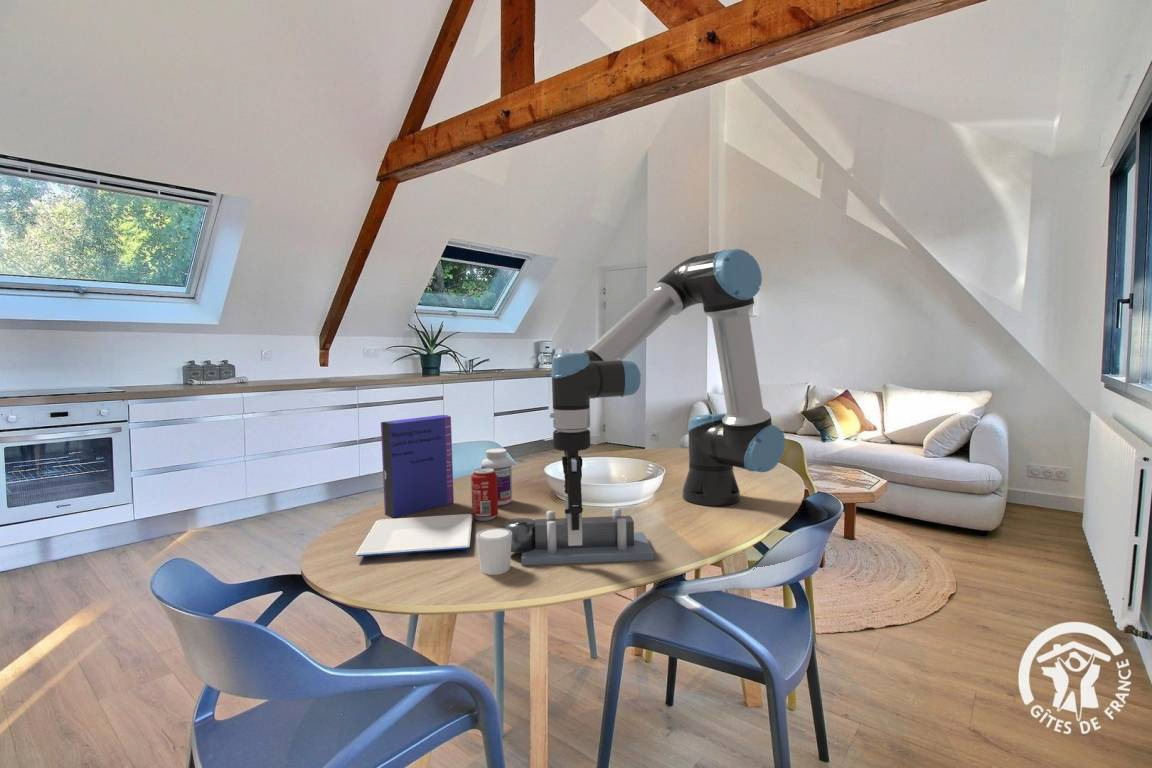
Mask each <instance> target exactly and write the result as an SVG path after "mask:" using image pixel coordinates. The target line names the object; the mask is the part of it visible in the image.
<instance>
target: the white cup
mask: <svg viewBox="0 0 1152 768" xmlns="http://www.w3.org/2000/svg"><path fill="white" fill-rule="evenodd" d="M475 537H476V538H475V539H476V545H477V546H476V547H477V554H478V562H479V569H480V572H481V574H484V575H487V574H488V575H489V576H497V575H502V574H505V573H507V572H509V571H510V569H511V557H512V556H511V555H512V552H511V543H512V532H511V531H510V530H508V529H505V527H502V528H501V527H492V528H485V529H482V530H480V531H477V533H476V535H475ZM488 575H487V576H488Z"/></svg>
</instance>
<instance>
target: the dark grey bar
mask: <svg viewBox="0 0 1152 768" xmlns="http://www.w3.org/2000/svg"><path fill="white" fill-rule="evenodd" d="M620 518H623V519H626V546H634V532H635V523H634V522H635V521H634V519H633V517H632V516H631V515H621V516H613V515H611V516H586V517H583V516H582V545H577V546H568V518H565V517H564V518H563V517H559V518H556V517H555V519H547V518H535V519H533V518H530V517H529V518H528V517H517V518H511V519H508V520H506V521H505V522H504V529H508V530H510V531H511V532H512V543H511V553H517V554H519V553H521V554H522V553H523V552H529V551H532V550H534V549H535V548H536V550H544V549H548V548H547V522H548V521H555V522H556V545H557V549H568V548H593V547H617V519H620Z"/></svg>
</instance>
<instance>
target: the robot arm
mask: <svg viewBox="0 0 1152 768" xmlns="http://www.w3.org/2000/svg"><path fill="white" fill-rule="evenodd" d="M762 278H763V277H762V271H761V268H760V265H759V263H758V261H757V259H756V258H755V257H754V256H753V255H751V254H750V253H749V252H748V251H746V250H744V249H740V248H733V249H731V248H730V249H722V250H720V251H714V252H711V253H705V254H701V255H695V256H692V257H689V258H687V259H685V260H683V261H682V262H680V263H679V264H678V265H676V266H675V267H673V268H672V269H671V270H670V271H668V272H667V273H666V274H664V276H663V277H661V278H660V279H659V280H658V281H657V282H656V283H655V284H653V286H652V288H651V293H649V294H648V295H647V296H646V297H645V298H643V300H642V301H640V302H639V303H638V304H637V305H636V306H635V307H633V308H632V309H631V310H630V311H629V312H628V313H626V315H624V316H622V317H621V319H620V320H619V321H618V322H617V323H615V324H614V325H613V326H612V327H611V328H610V329H609V330H608V331H606V332H605V333H604V334H603V335H602V336H601V337H600V338H598V339H597V340H596V341H595V342H594V343H593V344H592V345H590V346H589V347H588V348H587V349H586V350H584V351H583V352H561V353H556V354H554V355H553V357H552V359H551V374H550V378H551V390H552V391H551V392H552V395H551V396H552V413H549V418H551V419H552V422H553V425H552V427H553V428H554V430H553V432H552V437H553V438H552V441H553V443H552V447H553V448H554V450H557V451H561V452H564V456H562V457H561V463H562V470H563V471H562V472H563V474H564V485H563V486H564V514H565V517H564V518H568V546H577V545H582V518H583V512H584V511H583V510H584V509H583V499H582V498H583V496H582V494H583V493H582V478H583V477H582V476H583V471H582V470H583V469H582V468H583V458H582V455H579V451H585V450H588V449H589V448H590V447H591V431H590V430H589V428H590V427H591V407H590V401H591V399H596V398H597V399H599V398H614V397H615V398H616V397H621V398H624V397H627V396H633V395H635V394H636V393H637V392H638V391H639V389H640V387H641V386H640V385H641V380H642V379H641V376H642V375H641V371H640V369H639V367H638V365H637V364H636V363H635V362H633V361H631V360H624V359H625V358H626V357H627V356H628V355H630V354H631V353H632V352H633V351H634V350H636V348H637V347H639V345H641V343H643V342H644V341H645V340H646V339H647V338H649V336H651V335H652V334H653V332H655V331H656V330H657V329H658V328H659V327H660V326H662V325H663V324H664V323H665V322H666V321H667V320H668V319H669V318H670V317H672V316H678V315H680V314H681V313H682V312H683V311H684V310H685V309H688V308H689V307H691V306H695V305H699V304H702V306H703V312H704V313H703V314H706V315H707V316H708V317H710V319H711V320H712V327H713V333H714V334H713V335H714V338H715V339H714V340H715V345H716V346H715V347H716V352H717V357H718V358H717V360H718V363H719V365H718V366H719V371H720V377H721V382H722V389H723V395H724V403H725V407H726V409H725V410H726V413H712V414H700V415H694V416H692V417H691V418H690V419H689V421H688V422H689V423H688V430H687V431H688V472H687V475H686V478H685V481H684V484H683V488H682V499H684V500H685V501H687V502H688V503H693V504H696V505H702V506H713V507H715V506H716V507H718V506H719V507H720V506H730V505H734V504H737V503H738V502H740V499H741V498H740V497H741V496H740V495H741V491H740V488H739V485H738V482H737V479H736V476H735V472H734V467H735V468H740V469H743V470H746V471H749V472H758V473H767V472H770V471H772V470H773V469H774V468H776V467H777V466H778V464H779V463H780V461H781V459H782V457H783V455H784V453H785V449H786V437H785V433H784V432H783V431H782V430H781V429H780V428H779V427H778V426H777V425H773V422H772V415H771V413H770V412H769V411H767V410H766V409H765V408H764V405H763V398H762V394H761V393H762V392H761V386H760V379H759V373H758V365H757V359H756V352H755V347H754V339H753V333H752V326H751V318H750V311H751V309H752V308H753V307H754V305H755V299H754V297H755V296H756V295H757V294H758V293H759V291H760V289H761V288H760V286H761V287H762V283H763V282H762V280H763V279H762Z"/></svg>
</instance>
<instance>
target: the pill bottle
mask: <svg viewBox="0 0 1152 768" xmlns="http://www.w3.org/2000/svg"><path fill="white" fill-rule="evenodd" d="M507 454H508V453H507V449H505V448H489V449H486V450H485V457H486V458H484V459H483V460H482V461H481V468H492V469H494V472H495V473H496V475H497V493H498V507H499V506H506V505H508V504H509V503H511V502H512V500H513V481H512V479H513V478H512V477H513V475H512V469H513V468H512V461H511V459H510V458H509V457H506V456H507Z"/></svg>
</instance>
